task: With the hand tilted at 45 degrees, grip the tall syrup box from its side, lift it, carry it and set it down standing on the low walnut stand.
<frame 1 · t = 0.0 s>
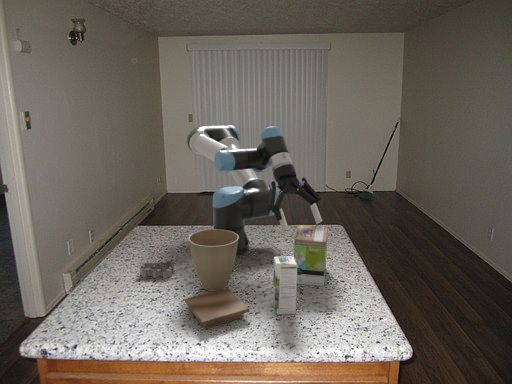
hand: (302, 225, 130), 15 cm above the table, tool tilted 35°, fingers open, 13 cm apart
plant pot: (215, 286, 121), on the table
stand: (216, 313, 106), on the table
syrup box: (284, 310, 108), on the table
tea box: (310, 275, 129), on the table
egg carton: (157, 274, 131), on the table
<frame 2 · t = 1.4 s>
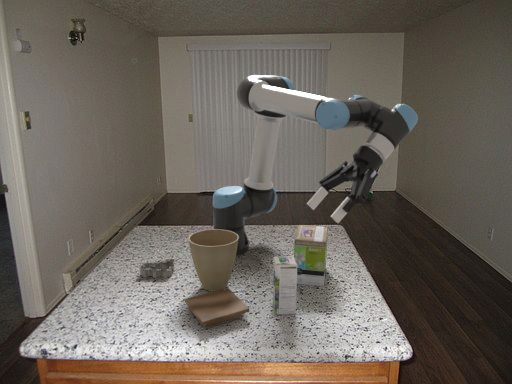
hand: (321, 213, 105), 26 cm above the table, tool tilted 45°, fingers open, 13 cm apart
nothing on the table moved.
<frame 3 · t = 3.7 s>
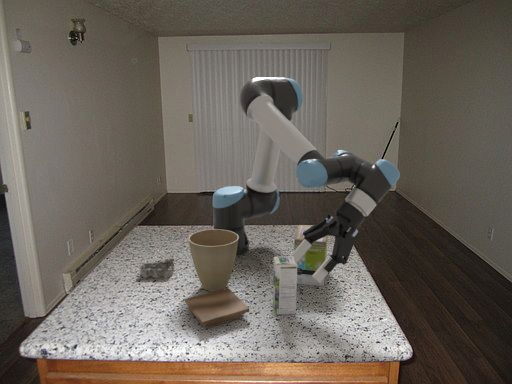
hand: (303, 269, 106), 12 cm above the table, tool tilted 45°, fingers open, 13 cm apart
nothing on the table moved.
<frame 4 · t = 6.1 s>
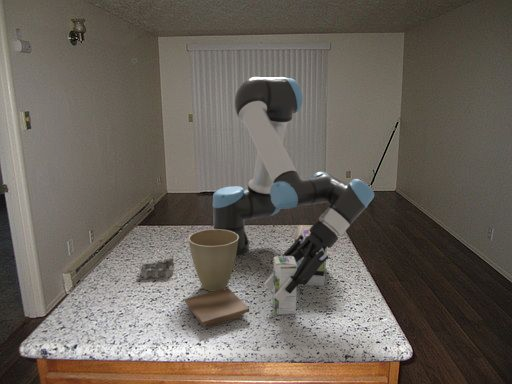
hand: (272, 293, 105), 5 cm above the table, tool tilted 45°, fingers closed on syrup box, 7 cm apart
syrup box: (284, 310, 108), on the table, touching gripper
everything else where it was.
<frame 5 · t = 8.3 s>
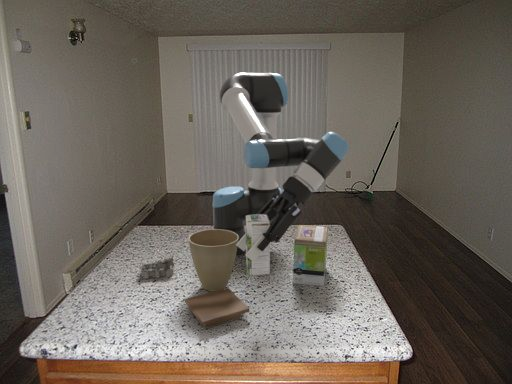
hand: (244, 253, 100), 18 cm above the table, tool tilted 45°, fingers closed on syrup box, 7 cm apart
syrup box: (258, 271, 103), point 12 cm above the table, touching gripper
everything else where it was.
when the fingers open (10 cm above the table, at t = 10.9 s): syrup box drops 1 cm, resting on stand.
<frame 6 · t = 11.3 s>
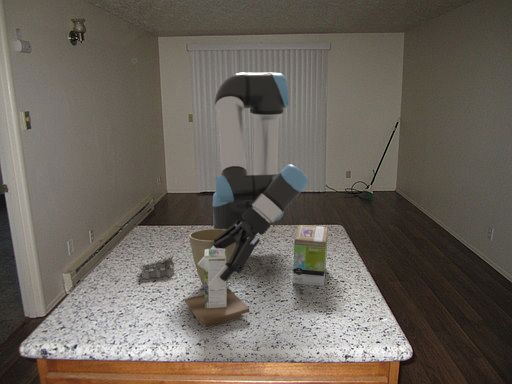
hand: (206, 277, 102), 11 cm above the table, tool tilted 45°, fingers open, 12 cm apart
plant pot: (215, 285, 121), on the table, touching hand
syrup box: (216, 303, 105), point 3 cm above the table, touching stand
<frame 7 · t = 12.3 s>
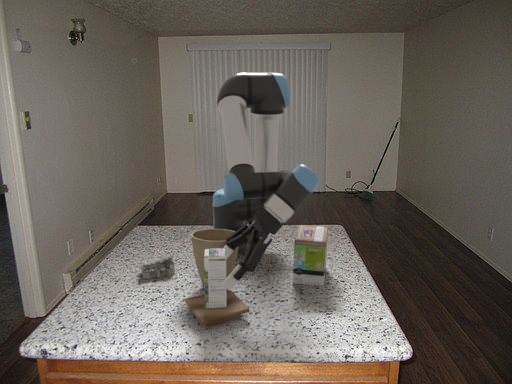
hand: (219, 276, 103), 11 cm above the table, tool tilted 45°, fingers open, 13 cm apart
plant pot: (215, 285, 121), on the table, touching gripper, hand
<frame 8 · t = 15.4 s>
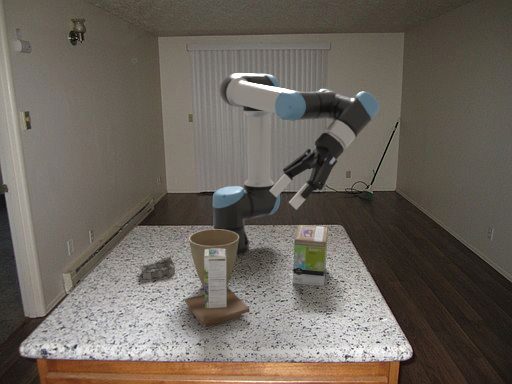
hand: (281, 199, 105), 30 cm above the table, tool tilted 45°, fingers open, 13 cm apart
plant pot: (215, 286, 121), on the table
at the end: syrup box inside the target area on the stand (0.2 cm from its centre), point 2.8 cm above the stand's base; syrup box tilted 0°; the gripper is holding nothing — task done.
